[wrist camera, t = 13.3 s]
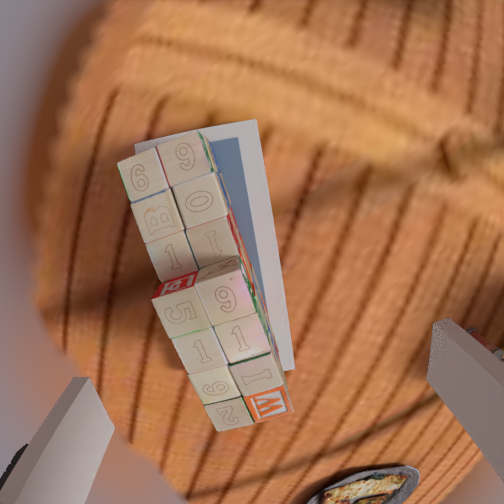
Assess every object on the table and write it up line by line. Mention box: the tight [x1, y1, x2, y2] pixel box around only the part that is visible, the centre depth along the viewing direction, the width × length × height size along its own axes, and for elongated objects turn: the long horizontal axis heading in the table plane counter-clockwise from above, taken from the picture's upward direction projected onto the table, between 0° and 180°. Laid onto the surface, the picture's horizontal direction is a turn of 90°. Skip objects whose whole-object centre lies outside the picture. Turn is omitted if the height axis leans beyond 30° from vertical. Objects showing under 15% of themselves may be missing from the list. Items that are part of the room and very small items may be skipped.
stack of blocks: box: [117, 131, 294, 431], centre depth 26 cm, size 21×6×12 cm, turn 18°
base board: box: [134, 119, 295, 371], centre depth 33 cm, size 27×12×3 cm, turn 10°
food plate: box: [305, 465, 420, 504], centre depth 46 cm, size 25×23×4 cm
